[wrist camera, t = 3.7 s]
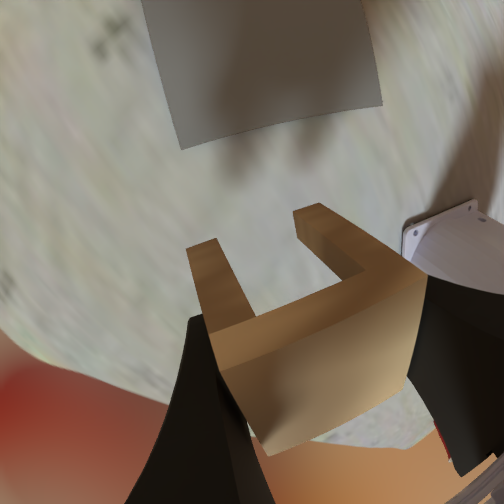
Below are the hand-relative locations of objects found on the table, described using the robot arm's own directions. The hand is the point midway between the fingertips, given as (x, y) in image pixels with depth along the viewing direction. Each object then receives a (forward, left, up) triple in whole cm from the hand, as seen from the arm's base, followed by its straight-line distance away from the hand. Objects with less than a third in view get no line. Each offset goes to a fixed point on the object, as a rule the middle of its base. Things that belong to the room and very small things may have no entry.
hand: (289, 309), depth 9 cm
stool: (0, 0, -2) cm, 2 cm away
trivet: (-4, -10, -7) cm, 13 cm away
